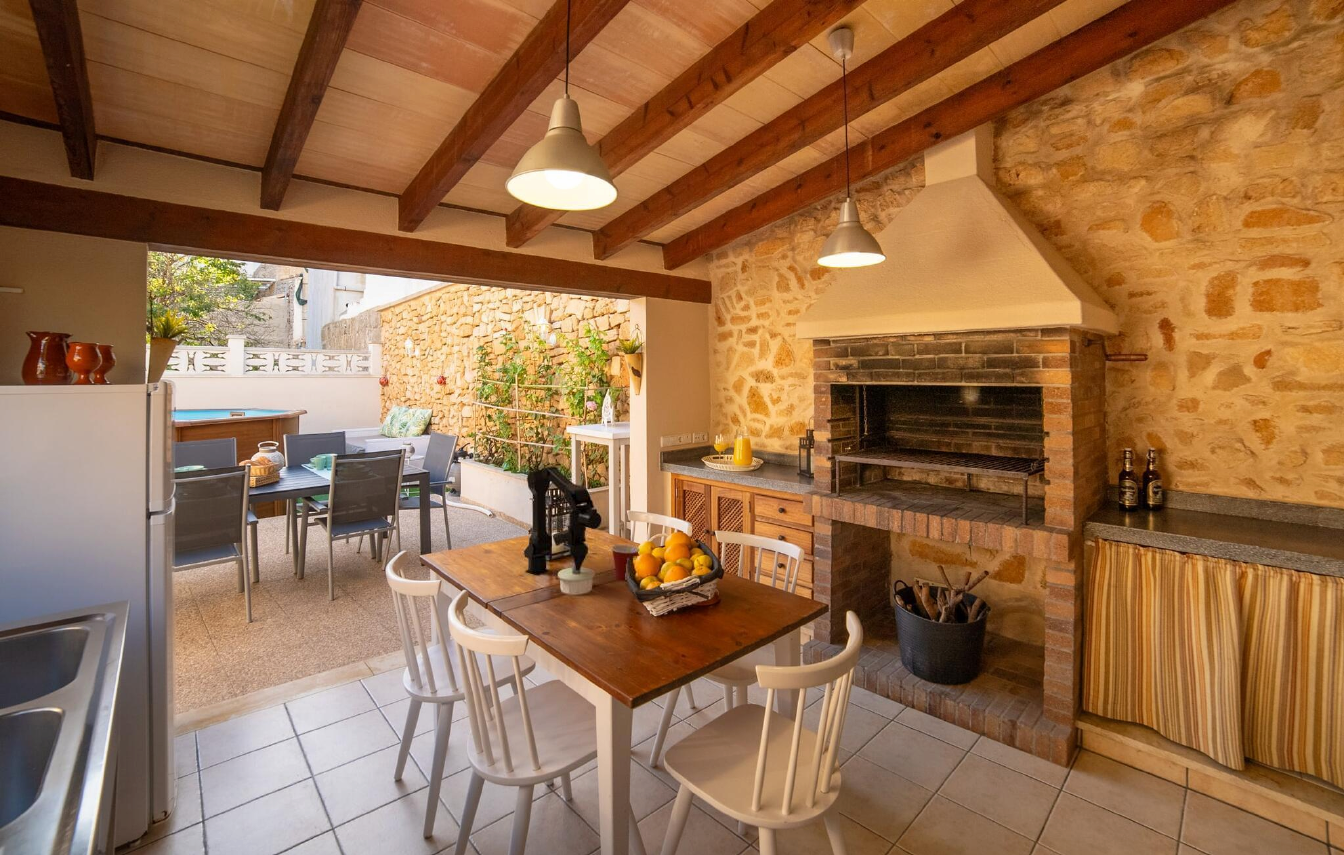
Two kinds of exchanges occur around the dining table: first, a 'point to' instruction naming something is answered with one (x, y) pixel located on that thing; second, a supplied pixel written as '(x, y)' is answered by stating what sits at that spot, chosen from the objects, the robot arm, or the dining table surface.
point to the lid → (576, 574)
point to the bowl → (576, 587)
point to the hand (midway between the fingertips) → (576, 566)
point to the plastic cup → (622, 558)
